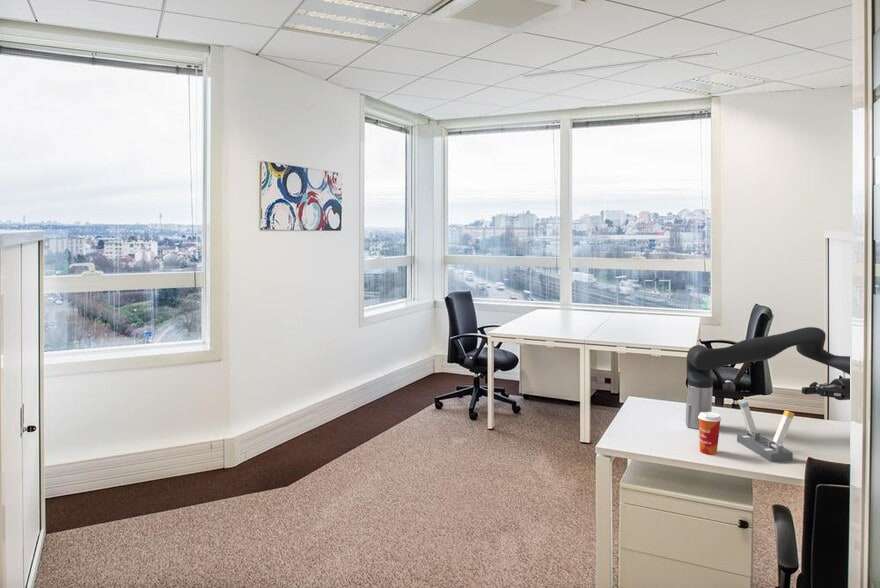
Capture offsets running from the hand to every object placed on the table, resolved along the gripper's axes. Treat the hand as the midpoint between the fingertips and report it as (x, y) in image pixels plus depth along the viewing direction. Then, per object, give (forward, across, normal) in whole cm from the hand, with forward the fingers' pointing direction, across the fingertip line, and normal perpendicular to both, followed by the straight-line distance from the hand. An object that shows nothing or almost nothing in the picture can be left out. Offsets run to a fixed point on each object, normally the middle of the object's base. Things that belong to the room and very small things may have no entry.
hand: (803, 390), depth 205 cm
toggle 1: (+9, +13, -20) cm, 25 cm away
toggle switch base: (+9, +7, -24) cm, 26 cm away
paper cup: (+30, +8, -24) cm, 39 cm away
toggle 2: (+9, 0, -20) cm, 22 cm away
